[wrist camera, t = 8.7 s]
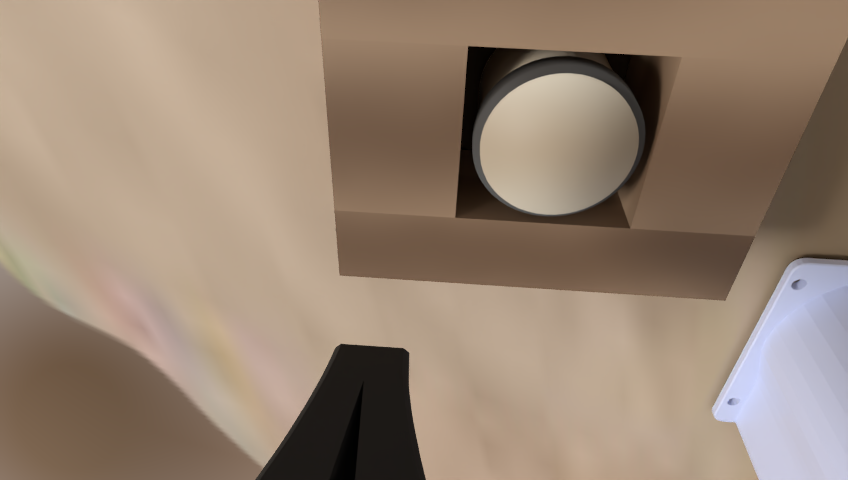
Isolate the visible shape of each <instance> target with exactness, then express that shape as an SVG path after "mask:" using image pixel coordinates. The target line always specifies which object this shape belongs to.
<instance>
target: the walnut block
mask: <svg viewBox="0 0 848 480" xmlns="http://www.w3.org/2000/svg"><path fill="white" fill-rule="evenodd" d="M318 2H319V15H320V28H321V41H322V54H323V67H324V80H325V93H326V105H327V118H328V131H329V144H330V157H331V170H332V183H333V196H334V209H335V221H336V234H337V247H338V260H339V273H340V275H342V276H357V277H372V278H388V279H403V280H418V281H434V282H449V283H464V284H480V285H495V286H510V287H525V288H541V289H556V290H571V291H587V292H602V293H617V294H633V295H648V296H663V297H679V298H694V299H709V300H726V298H727V296H728V294H729V291H730V289H731V287H732V285H733V283H734V281H735V279H736V276H737V274H738V272H739V270H740V268H741V266H742V264H743V261H744V259H745V257H746V255H747V253H748V251H749V249H750V246H751V244H752V242H753V240H754V238H755V236H756V234H757V231H758V229H759V227H760V225H761V223H762V221H763V219H764V216H765V214H766V212H767V210H768V208H769V206H770V204H771V201H772V199H773V197H774V195H775V193H776V191H777V189H778V186H779V184H780V182H781V180H782V178H783V176H784V174H785V171H786V169H787V167H788V165H789V163H790V161H791V159H792V156H793V154H794V152H795V150H796V148H797V146H798V144H799V141H800V139H801V137H802V135H803V133H804V131H805V129H806V126H807V124H808V122H809V120H810V118H811V116H812V114H813V111H814V109H815V107H816V105H817V103H818V101H819V99H820V96H821V94H822V92H823V90H824V88H825V86H826V84H827V81H828V79H829V77H830V75H831V73H832V71H833V69H834V66H835V64H836V62H837V60H838V58H839V56H840V53H841V51H842V49H843V47H844V45H845V43H846V41H847V38H848V0H318ZM468 46H478V47H497V48H517V49H536V50H556V51H575V52H594V53H614V54H631V58H630V62H629V66H628V70H627V74H626V78H625V82H626V84H627V85H628V86H629V88H630V89H631V91H632V93H633V94H634V96H635V98H636V100H637V102H638V104H639V107H640V109H641V111H642V114H643V118H644V122H645V144H644V149H643V153H642V156H641V158H640V161H639V163H638V165H637V167H636V169H635V171H634V172H633V174H632V175H631V177H630V178H629V179H628V181H627V182H626V183H625V184H624V185H623V186H622V187H621V188H620V189H619V190H618V191H617V192H616V193H615V194H613V195H612V196H611V197H609V198H608V199H606V200H605V201H603V202H601V203H600V204H598V205H596V206H594V207H592V208H589V209H587V210H584V211H581V212H578V213H574V214H569V215H564V216H537V215H531V214H527V213H523V212H520V211H518V210H515V209H513V208H511V207H509V206H507V205H505V204H504V203H502V202H501V201H499V200H498V199H497V198H495V197H494V196H493V195H492V194H491V193H490V192H489V191H488V190H487V188H486V187H485V186H484V184H483V183H482V181H481V180H480V178H479V176H478V173H477V171H476V168H475V165H474V161H473V154H472V151H470V150H460V147H461V134H462V120H463V107H464V94H465V80H466V67H467V54H468Z"/></svg>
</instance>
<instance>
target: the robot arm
mask: <svg viewBox="0 0 848 480" xmlns="http://www.w3.org/2000/svg"><path fill="white" fill-rule="evenodd" d="M799 279H800V280H799ZM796 280H799V281H797V282H794V281H796ZM793 282H794V283H793ZM712 413H713V415H714V417H715V419H717V420H719V421H724V422H736V425H737V427H738V430H739V432H740V435H741V437H742V439H743V442H744V444H745V447H746V449H747V452H748V454H749V457H750V459H751V461H752V464H753V466H754V469H755V471H756V474H757V476H758V479H759V480H848V260H832V259H816V258H800V259H797V260H794V261H793V262H791V263H790V264H789V265H788V267H787V268H786V270H785V272H784V274H783V276H782V278H781V279H780V281H779V283H778V285H777V287H776V289H775V291H774V293H773V295H772V296H771V298H770V300H769V302H768V304H767V306H766V308H765V310H764V312H763V313H762V315H761V317H760V319H759V321H758V323H757V325H756V327H755V329H754V330H753V332H752V334H751V336H750V338H749V340H748V342H747V344H746V346H745V347H744V349H743V351H742V353H741V355H740V357H739V359H738V361H737V363H736V364H735V366H734V368H733V370H732V372H731V374H730V376H729V378H728V380H727V381H726V383H725V385H724V387H723V389H722V391H721V393H720V395H719V397H718V398H717V400H716V402H715V404H714V406H713V408H712ZM256 480H426V479H425V475H424V471H423V466H422V462H421V458H420V453H419V448H418V443H417V439H416V434H415V429H414V423H413V417H412V411H411V403H410V395H409V352H407V351H406V350H405V349H404V348H391V347H376V346H362V345H348V344H340V345H339V346H337V347H336V348H335V350H334V352H333V355H332V357H331V359H330V361H329V363H328V365H327V367H326V369H325V371H324V373H323V375H322V377H321V379H320V381H319V382H318V384H317V386H316V388H315V390H314V391H313V393H312V395H311V396H310V398H309V400H308V402H307V403H306V405H305V407H304V408H303V410H302V411H301V413H300V415H299V416H298V418H297V419H296V421H295V423H294V424H293V426H292V427H291V429H290V430H289V432H288V434H287V435H286V437H285V438H284V440H283V441H282V443H281V444H280V446H279V447H278V449H277V450H276V451H275V453H274V454H273V456H272V457H271V459H270V460H269V461H268V463H267V464H266V466H265V467H264V468H263V470H262V471H261V473H260V474H259V476H258V477H257V478H256Z"/></svg>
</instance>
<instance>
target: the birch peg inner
mask: <svg viewBox="0 0 848 480" xmlns="http://www.w3.org/2000/svg"><path fill="white" fill-rule="evenodd" d="M644 144H645V122H644V118H643V114H642V111H641V109H640V107H639V104H638V102H637V100H636V98H635V96H634V94H633V93H632V91H631V89H630V88H629V86H628V85H627V84H626V82H625V81H624V80H623V79H622V78H621V77H620V76H619V75H618V74H616V73H615V72H614V71H613V70H612V69H611V66H610V64H609V62H608V60H607V58H606V56H605V54H604V53H594V52H575V51H556V50H536V49H517V48H497V49H496V50H495V51H494V52H493V54H492V55H491V56H490V58H489V59H488V61H487V63H486V65H485V67H484V69H483V72H482V75H481V78H480V84H479V109H478V111H477V114H476V117H475V121H474V125H473V132H472V154H473V161H474V165H475V168H476V171H477V173H478V176H479V178H480V180H481V181H482V183H483V184H484V186H485V187H486V188H487V190H488V191H489V192H490V193H491V194H492V195H493V196H494V197H495V198H497V199H498V200H499V201H501V202H502V203H504V204H505V205H507V206H509V207H511V208H513V209H515V210H518V211H520V212H523V213H527V214H531V215H537V216H564V215H569V214H574V213H578V212H581V211H584V210H587V209H589V208H592V207H594V206H596V205H598V204H600V203H601V202H603V201H605V200H606V199H608V198H609V197H611V196H612V195H613V194H615V193H616V192H617V191H618V190H619V189H620V188H621V187H622V186H623V185H624V184H625V183H626V182H627V181H628V179H629V178H630V177H631V175H632V174H633V172H634V171H635V169H636V167H637V165H638V163H639V161H640V158H641V156H642V153H643V149H644Z"/></svg>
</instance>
